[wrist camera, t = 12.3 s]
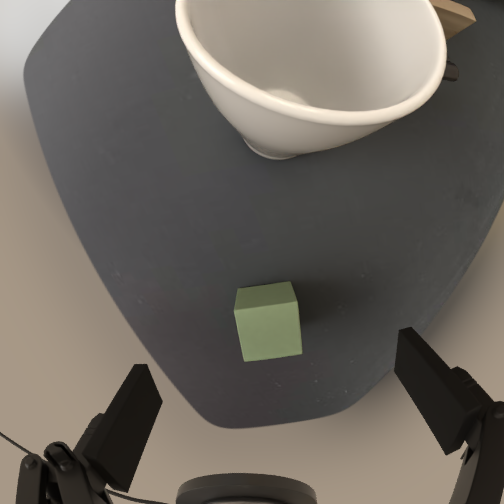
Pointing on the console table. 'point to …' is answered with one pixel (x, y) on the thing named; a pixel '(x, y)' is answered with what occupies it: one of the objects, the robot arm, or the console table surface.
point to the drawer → (452, 27)
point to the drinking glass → (313, 66)
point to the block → (268, 321)
